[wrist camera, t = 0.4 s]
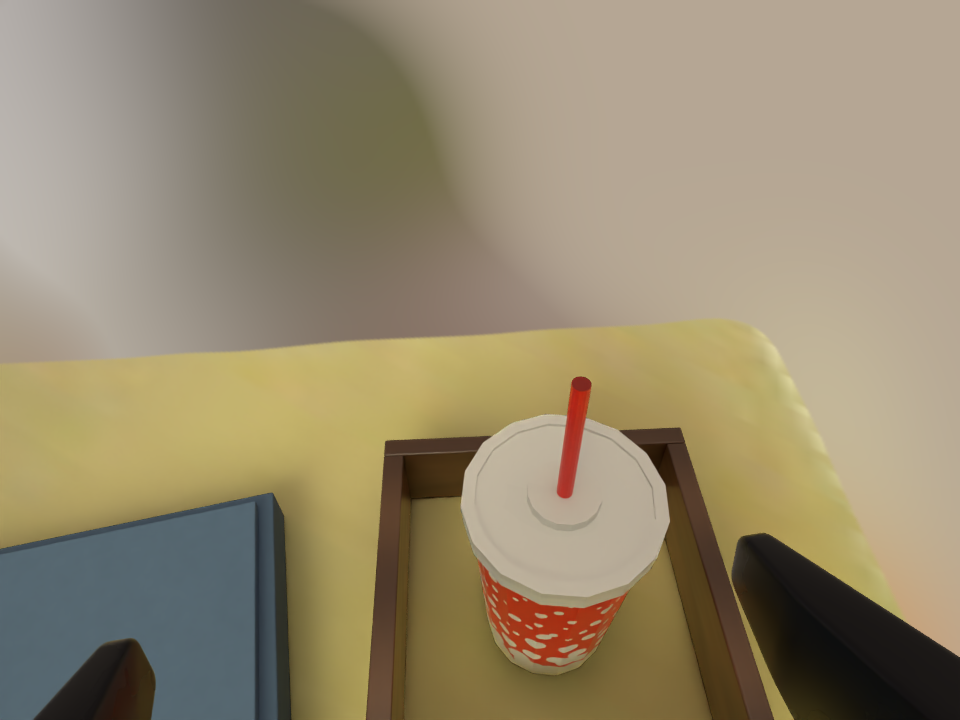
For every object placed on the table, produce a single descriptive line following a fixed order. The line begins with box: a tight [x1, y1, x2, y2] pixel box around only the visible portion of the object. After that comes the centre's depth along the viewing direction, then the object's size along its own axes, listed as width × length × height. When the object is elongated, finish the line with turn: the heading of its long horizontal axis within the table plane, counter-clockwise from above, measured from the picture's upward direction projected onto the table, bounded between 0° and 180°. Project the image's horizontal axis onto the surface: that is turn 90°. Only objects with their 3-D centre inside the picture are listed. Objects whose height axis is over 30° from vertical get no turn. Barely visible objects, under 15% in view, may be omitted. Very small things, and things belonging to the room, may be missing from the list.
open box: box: [366, 428, 774, 720], centre depth 24 cm, size 13×13×4 cm
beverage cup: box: [461, 377, 670, 675], centre depth 20 cm, size 6×6×14 cm
